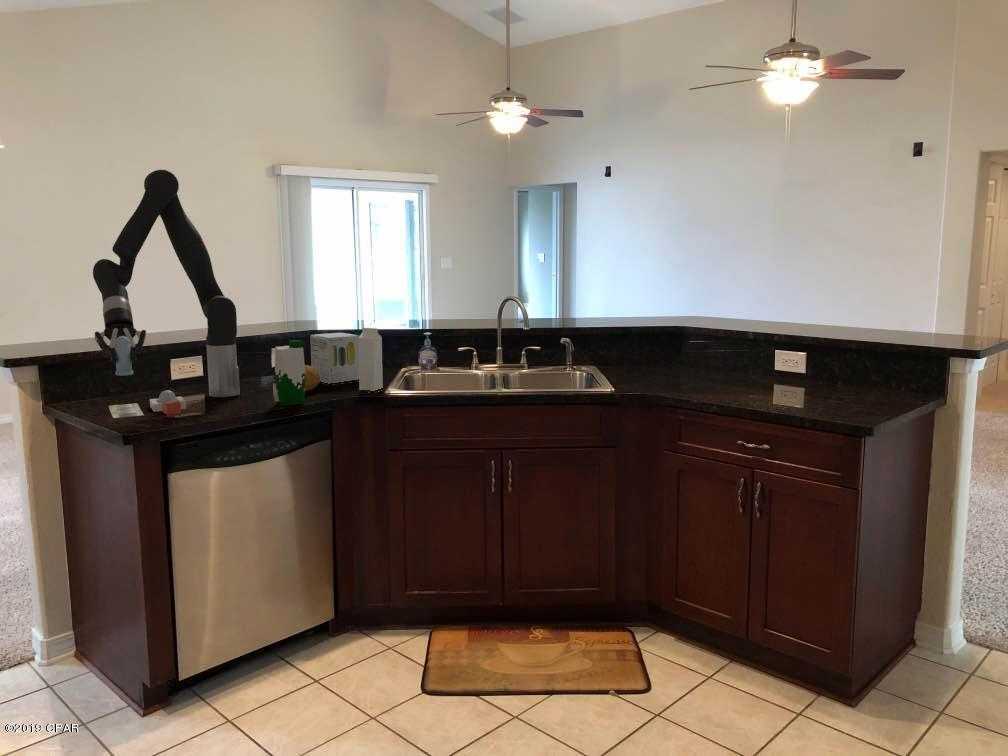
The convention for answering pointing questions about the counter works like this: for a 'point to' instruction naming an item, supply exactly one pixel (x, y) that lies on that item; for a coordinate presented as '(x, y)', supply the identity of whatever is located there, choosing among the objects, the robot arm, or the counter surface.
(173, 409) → the die
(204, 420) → the counter surface
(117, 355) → the pawn
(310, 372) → the potato
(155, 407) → the base
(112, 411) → the track
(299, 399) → the milk carton
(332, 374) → the supplement box
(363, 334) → the milk
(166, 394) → the light blue rounded piece
